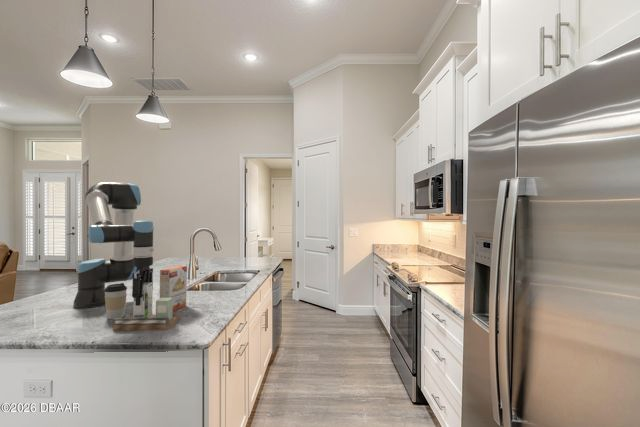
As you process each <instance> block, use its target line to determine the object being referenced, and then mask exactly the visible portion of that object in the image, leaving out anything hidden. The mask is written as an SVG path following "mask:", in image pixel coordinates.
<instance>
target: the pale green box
mask: <svg viewBox="0 0 640 427" xmlns="http://www.w3.org/2000/svg"><path fill="white" fill-rule="evenodd" d="M159 298H160V297H159ZM159 298H158V299H156V300H155V315H156V318H169V321H170V320H171V319H172V316H173V314H174V313H173V312H174V311H173V298H160V299H159Z"/></svg>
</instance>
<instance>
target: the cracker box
mask: <svg viewBox="0 0 640 427" xmlns="http://www.w3.org/2000/svg"><path fill="white" fill-rule="evenodd" d="M187 274H188V266H185V265H175V266H172V267H167V268H162V269H159V297H158V299H160V298H173V312H175V311H177V310H179V309H182V308H184V307H187V284H188V283H187V282H188V279H187V278H188V275H187Z"/></svg>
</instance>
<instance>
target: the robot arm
mask: <svg viewBox="0 0 640 427" xmlns="http://www.w3.org/2000/svg"><path fill="white" fill-rule="evenodd" d="M84 201H85V204H86V205H87V206H88V208H89V214H90V219H91V225H89V226H88V230H87V231H88V233H87V235H88V242H89V243H90V244H106V243H113V254H112V255H110V257H109V260H106V259H105V258H94V259H89V260H84V261H82V262H80V263H79V264H78V266H77V292H76V295H75V297H74V300H73V304H72V305H73V308H75V309H91V308H99V307H102V306H106V304H105V291H104V290H105V288H106V284H108V283H116V282H127V281H131V280H132V286H131V288H132V289H131V292H132V293H131V298H133V299H134V298H135V313H143V297H142V291H143V284H144V283H151V282H153V280H154V278H153V276H154V274H153V273H154V268H153V267H151V266H153V265H154V257H153V256H154V255H153V254H154V251H155V250H154V223H153V221H152V220H135V221H134V214H135V213H134V212H135V211H136V210H137V209H138V207H139V206H141V202H142V196H141V191H140V187H139V186H138V185H137V184H136V183H128V182H107V181H104V182H102V181H101V182H98V183H95V184H94V185H92V186H90V187H89V188H88V189H87V191H86V192H85V194H84ZM109 205H111V208H112V210H114V223H113V218H112V216H111V211H110V209H109ZM153 283H154V282H153ZM153 292H154V287H153V288H152V293H153Z"/></svg>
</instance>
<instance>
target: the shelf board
mask: <svg viewBox="0 0 640 427" xmlns="http://www.w3.org/2000/svg"><path fill="white" fill-rule="evenodd" d="M181 317H182V316H181V313H178V314H174V313H173V316H172V319H171V320H170V321H169V318H156V314H152V315H151V316H150V317H148V318H133V314H130V315H129V316H127V317H121V318H116V319H112V330H113V331H152V330H153V331H154V330H156V331H157V330H161V331H162V330H163V331H164V330H167V331H168V330H169V329H171V328H172V327H173V326H174V325H175V324H176V323H178V322H179V321H180V320H181Z"/></svg>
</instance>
